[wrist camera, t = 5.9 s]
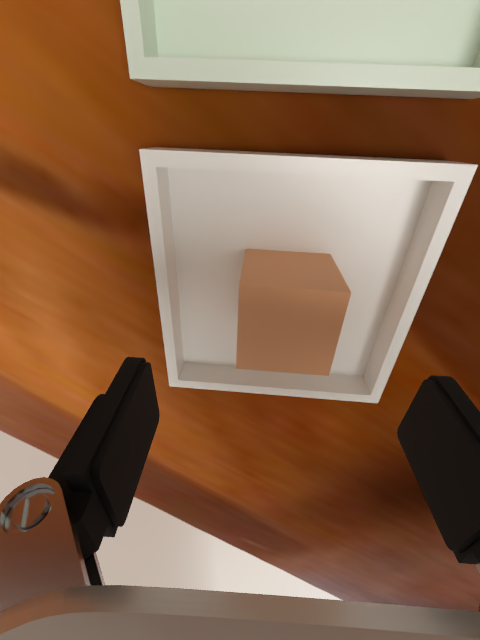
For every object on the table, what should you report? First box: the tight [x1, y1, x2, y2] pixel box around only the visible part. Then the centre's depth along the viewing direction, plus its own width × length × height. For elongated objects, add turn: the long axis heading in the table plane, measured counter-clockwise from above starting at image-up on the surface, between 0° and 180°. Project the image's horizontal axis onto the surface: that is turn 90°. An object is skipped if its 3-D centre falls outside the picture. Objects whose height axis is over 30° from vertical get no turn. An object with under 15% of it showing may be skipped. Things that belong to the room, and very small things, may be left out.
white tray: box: [139, 147, 478, 403], centre depth 18 cm, size 15×15×2 cm
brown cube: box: [236, 249, 351, 376], centre depth 17 cm, size 5×5×5 cm
